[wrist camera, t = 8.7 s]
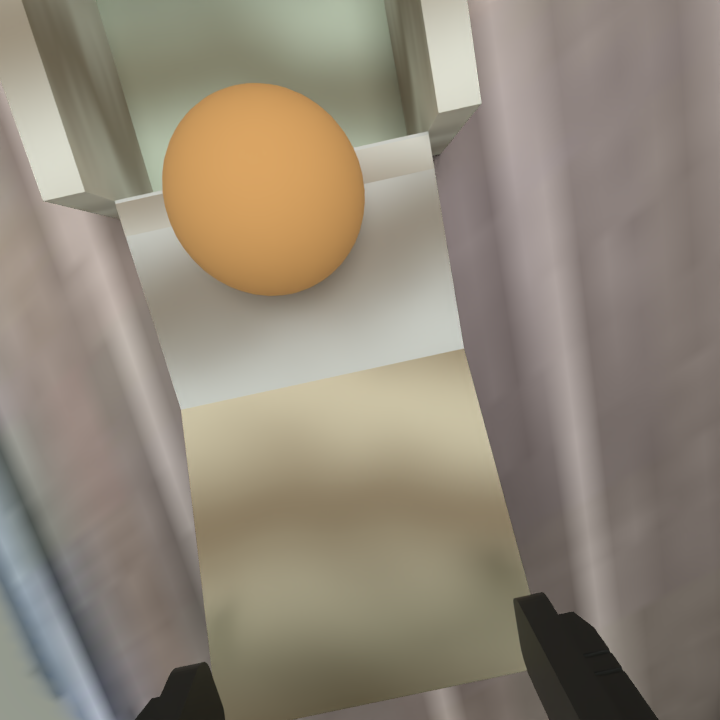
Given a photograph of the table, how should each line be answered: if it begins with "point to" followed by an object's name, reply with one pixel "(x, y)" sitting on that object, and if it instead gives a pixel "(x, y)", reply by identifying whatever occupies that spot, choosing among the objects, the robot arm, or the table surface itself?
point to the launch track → (300, 341)
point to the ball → (263, 189)
